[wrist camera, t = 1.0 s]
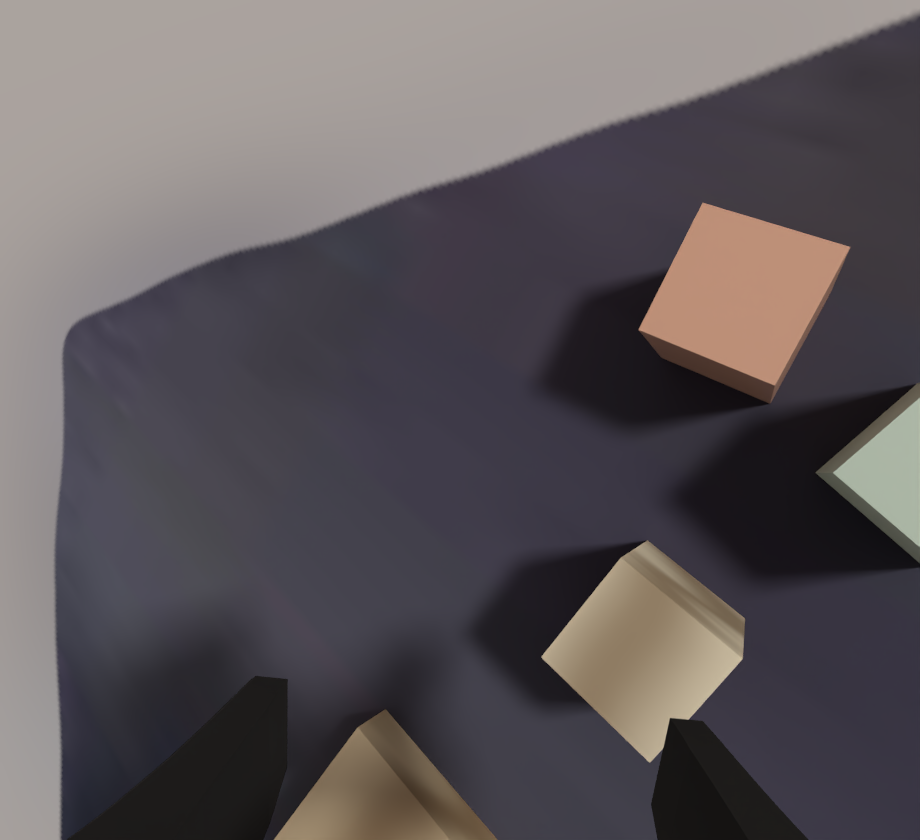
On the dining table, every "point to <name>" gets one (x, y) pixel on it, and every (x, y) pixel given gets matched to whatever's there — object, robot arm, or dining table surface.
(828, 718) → the dining table surface
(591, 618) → the maple block
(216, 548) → the dining table surface
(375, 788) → the oak slab
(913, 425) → the sage block
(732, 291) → the terracotta block
